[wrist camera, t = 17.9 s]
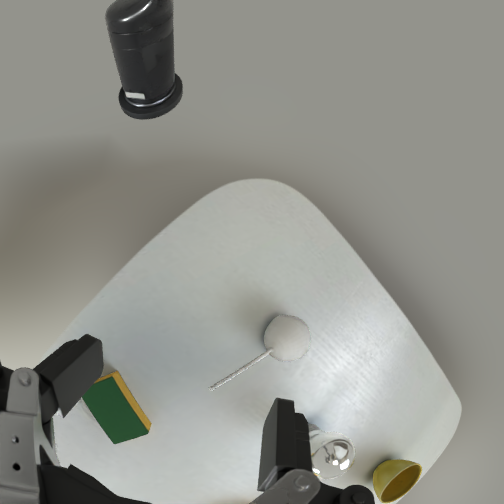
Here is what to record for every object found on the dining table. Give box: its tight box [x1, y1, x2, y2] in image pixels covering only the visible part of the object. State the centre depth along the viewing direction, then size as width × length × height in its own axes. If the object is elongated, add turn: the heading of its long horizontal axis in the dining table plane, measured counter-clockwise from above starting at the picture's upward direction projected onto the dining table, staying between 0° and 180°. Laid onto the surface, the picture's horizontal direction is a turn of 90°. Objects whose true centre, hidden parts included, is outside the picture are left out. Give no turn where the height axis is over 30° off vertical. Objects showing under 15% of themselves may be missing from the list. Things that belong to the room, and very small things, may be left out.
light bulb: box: [309, 424, 356, 479], centre depth 28 cm, size 7×7×12 cm
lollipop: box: [209, 315, 311, 391], centre depth 29 cm, size 6×6×15 cm
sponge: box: [82, 371, 151, 444], centre depth 28 cm, size 9×6×3 cm, turn 27°
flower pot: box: [373, 460, 422, 503], centre depth 32 cm, size 10×10×7 cm
